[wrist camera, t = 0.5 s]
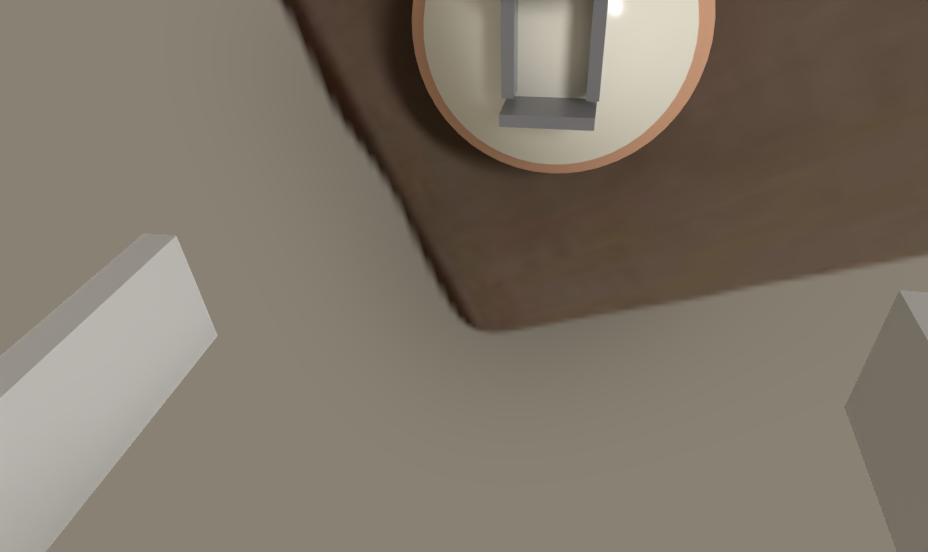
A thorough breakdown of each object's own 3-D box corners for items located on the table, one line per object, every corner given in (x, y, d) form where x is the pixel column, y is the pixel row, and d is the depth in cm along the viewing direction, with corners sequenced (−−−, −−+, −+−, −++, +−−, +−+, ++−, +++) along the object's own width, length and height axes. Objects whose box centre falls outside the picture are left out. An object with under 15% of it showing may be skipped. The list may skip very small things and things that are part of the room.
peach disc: (416, -139, 28) (374, -133, 23) (738, -154, 25) (762, -150, 20) (437, 143, 36) (409, 190, 32) (681, 156, 33) (689, 209, 29)
